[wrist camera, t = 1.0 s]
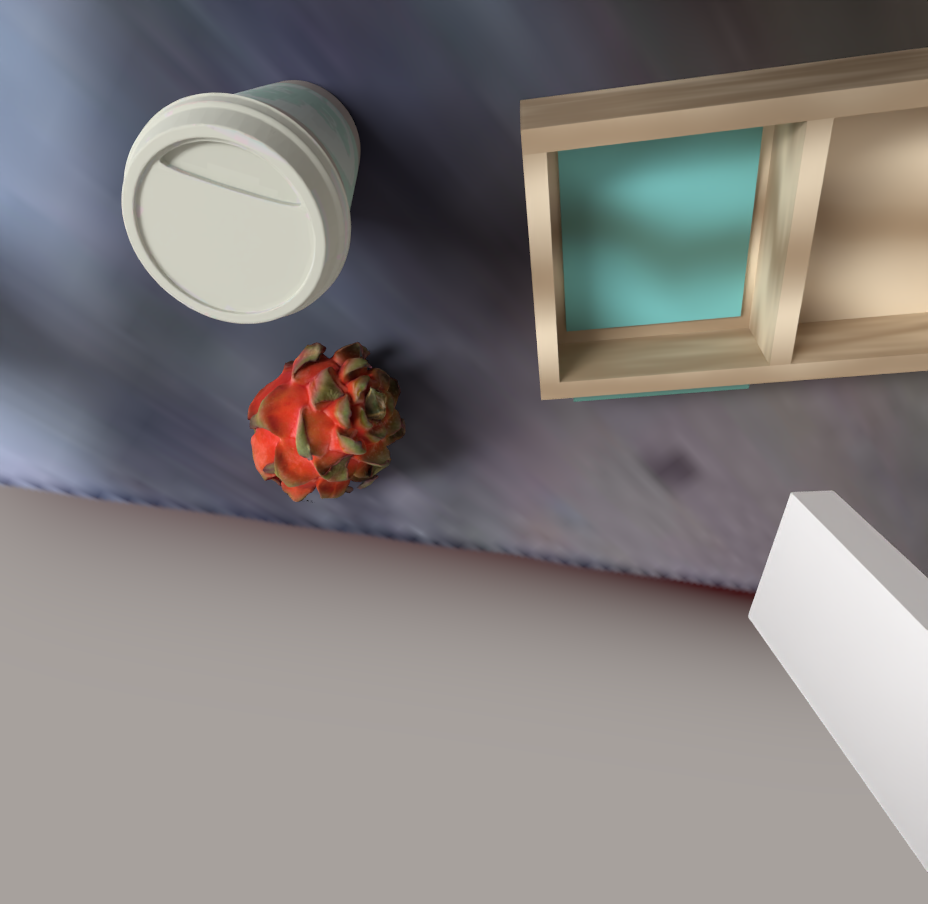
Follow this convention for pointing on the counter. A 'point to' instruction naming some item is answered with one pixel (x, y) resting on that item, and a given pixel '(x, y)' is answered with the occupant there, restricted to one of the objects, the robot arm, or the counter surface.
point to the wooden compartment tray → (730, 228)
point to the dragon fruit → (325, 423)
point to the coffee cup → (244, 199)
